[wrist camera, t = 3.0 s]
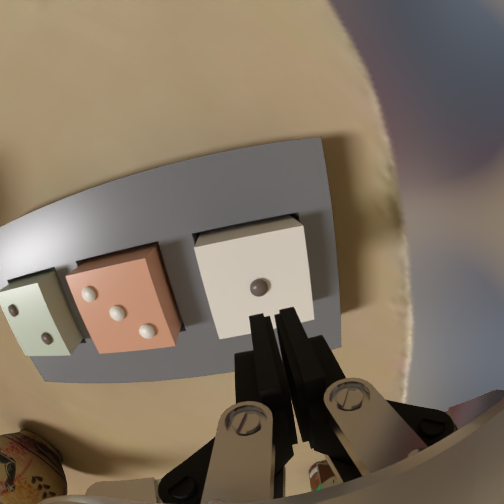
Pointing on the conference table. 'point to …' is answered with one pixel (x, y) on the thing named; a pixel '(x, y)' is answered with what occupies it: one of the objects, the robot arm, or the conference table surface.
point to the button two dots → (40, 315)
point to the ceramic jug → (29, 469)
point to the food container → (322, 476)
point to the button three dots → (127, 300)
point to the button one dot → (254, 272)
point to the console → (180, 250)
